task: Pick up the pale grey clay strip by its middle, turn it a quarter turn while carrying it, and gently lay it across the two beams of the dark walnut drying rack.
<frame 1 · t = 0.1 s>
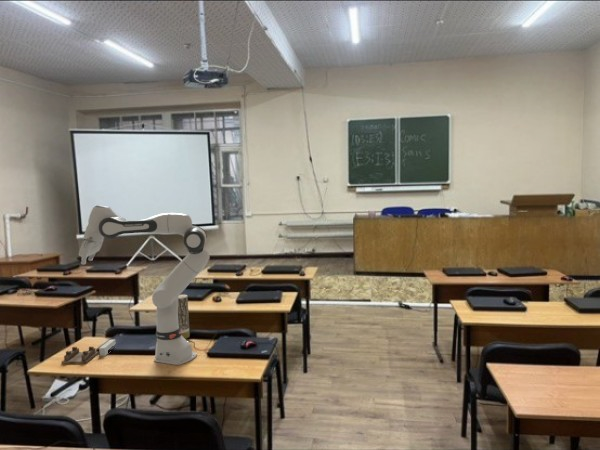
hand: (86, 262, 205), 52 cm above the table, tool tilted 20°, fingers open, 8 cm apart
drying rack: (80, 358, 214), on the table
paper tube: (183, 337, 240), on the table
grey strip: (108, 351, 223), on the table
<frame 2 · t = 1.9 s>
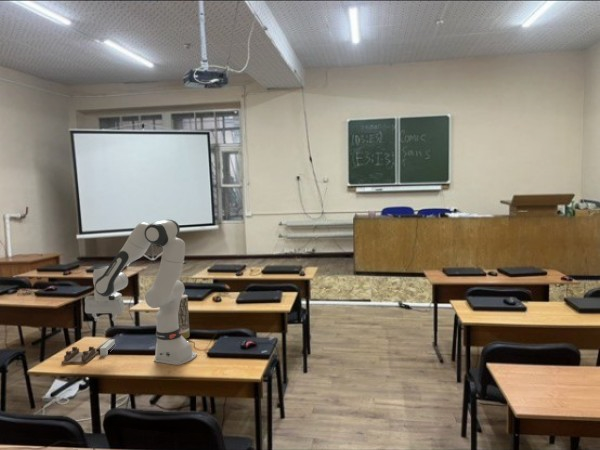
hand: (105, 320, 221), 17 cm above the table, tool pointing down, fingers open, 8 cm apart
nothing on the table moved.
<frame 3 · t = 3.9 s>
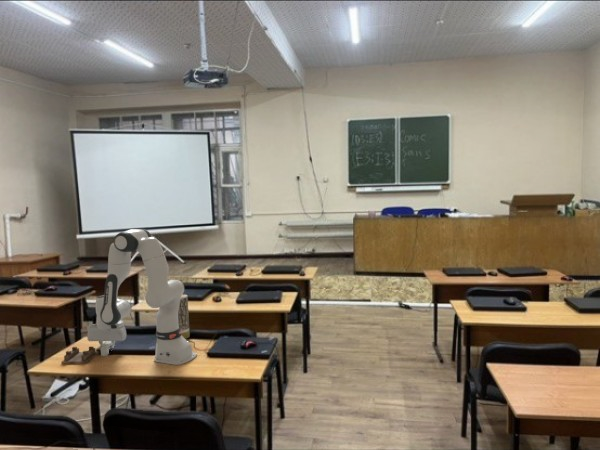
hand: (107, 348, 222), 2 cm above the table, tool pointing down, fingers closed on grey strip, 3 cm apart
grey strip: (108, 351, 223), on the table, touching gripper
everything else where it was.
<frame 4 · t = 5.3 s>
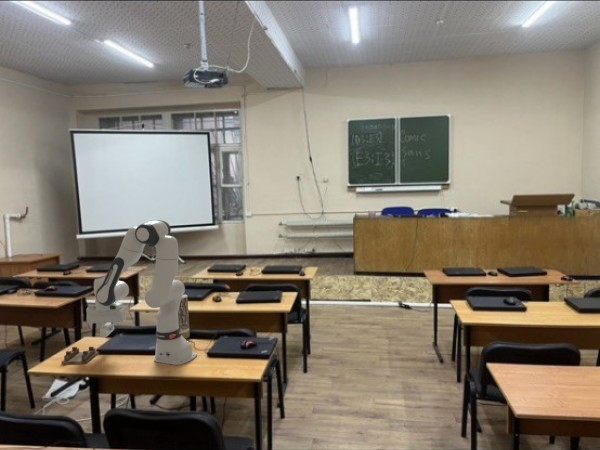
hand: (107, 330, 221), 12 cm above the table, tool pointing down, fingers closed on grey strip, 3 cm apart
grey strip: (107, 333, 221), point 10 cm above the table, touching gripper
everything else where it was.
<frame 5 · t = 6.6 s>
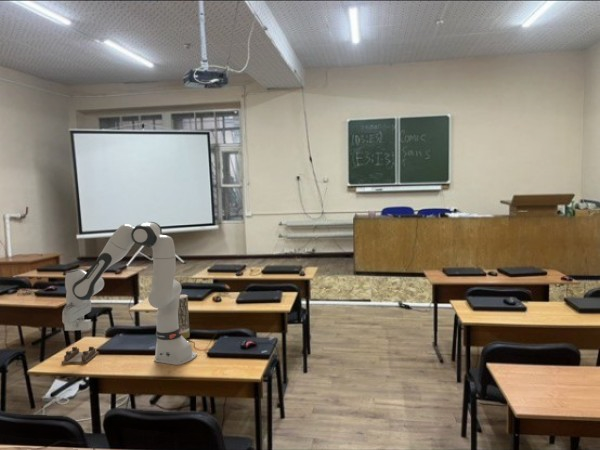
hand: (78, 326, 212), 18 cm above the table, tool pointing down, fingers closed on grey strip, 3 cm apart
grey strip: (78, 329, 212), point 16 cm above the table, touching gripper
everything else where it was.
when the fingers open (6 cm above the table, at t = 9.0 s): grey strip stays where it is, resting on drying rack.
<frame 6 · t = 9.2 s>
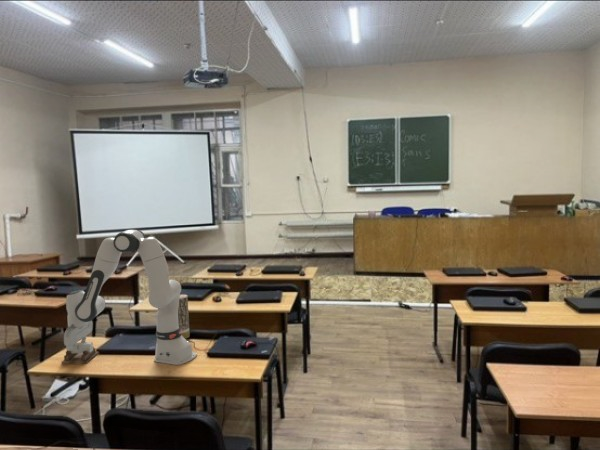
hand: (79, 347, 213), 6 cm above the table, tool pointing down, fingers open, 5 cm apart
grey strip: (80, 351, 213), point 4 cm above the table, touching drying rack
everything else where it was.
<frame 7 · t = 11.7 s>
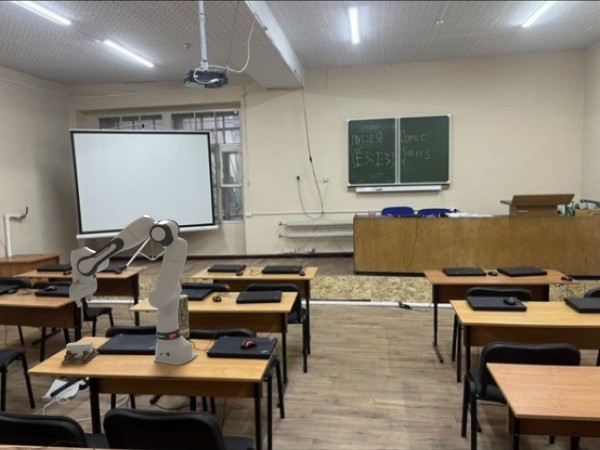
hand: (84, 303, 213), 29 cm above the table, tool pointing down, fingers open, 8 cm apart
nothing on the table moved.
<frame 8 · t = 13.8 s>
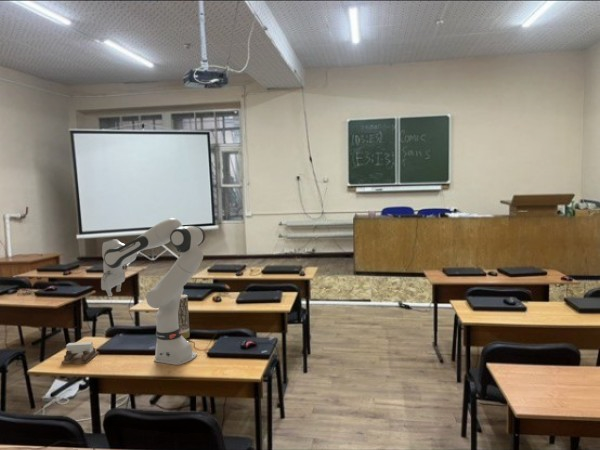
hand: (114, 293, 222), 31 cm above the table, tool pointing down, fingers open, 8 cm apart
nothing on the table moved.
at the end: grey strip 0.0 cm off-centre on the drying rack, point 3.7 cm above the drying rack's base; grey strip tilted 0°; the gripper is holding nothing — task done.
